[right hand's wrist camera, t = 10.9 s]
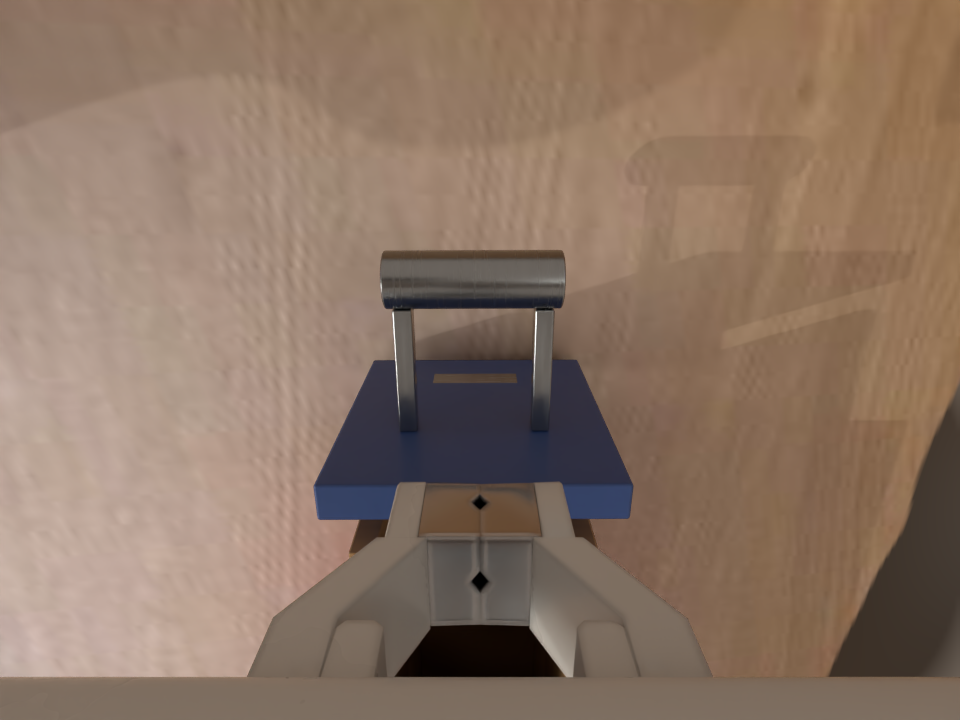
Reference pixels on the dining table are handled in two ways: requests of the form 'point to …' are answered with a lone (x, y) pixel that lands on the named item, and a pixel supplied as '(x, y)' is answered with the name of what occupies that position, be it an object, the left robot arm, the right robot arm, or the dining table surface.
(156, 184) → the dining table surface
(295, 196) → the dining table surface
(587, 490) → the drawer
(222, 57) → the dining table surface
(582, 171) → the dining table surface
